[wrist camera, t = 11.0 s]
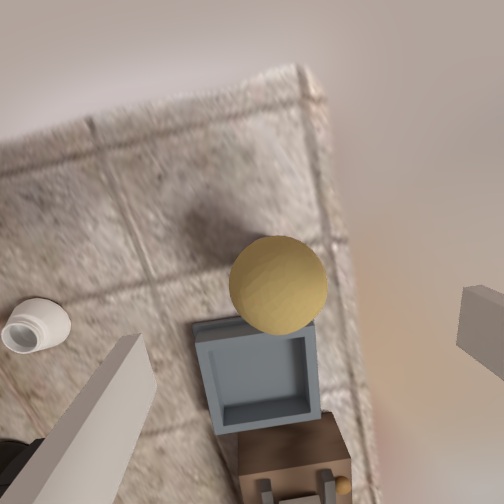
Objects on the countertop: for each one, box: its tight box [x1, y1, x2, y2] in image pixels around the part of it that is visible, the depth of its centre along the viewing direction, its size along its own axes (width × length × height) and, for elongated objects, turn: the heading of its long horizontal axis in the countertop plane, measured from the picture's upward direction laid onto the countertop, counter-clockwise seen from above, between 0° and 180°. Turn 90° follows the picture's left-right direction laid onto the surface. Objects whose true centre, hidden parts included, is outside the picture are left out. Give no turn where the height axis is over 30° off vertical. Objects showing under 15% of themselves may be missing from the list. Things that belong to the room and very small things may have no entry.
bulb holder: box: [192, 317, 321, 435], centre depth 25 cm, size 12×12×3 cm
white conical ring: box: [1, 298, 71, 354], centre depth 22 cm, size 5×3×5 cm
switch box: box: [238, 412, 352, 504], centre depth 28 cm, size 11×16×6 cm
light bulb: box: [229, 236, 328, 335], centre depth 18 cm, size 6×6×10 cm
